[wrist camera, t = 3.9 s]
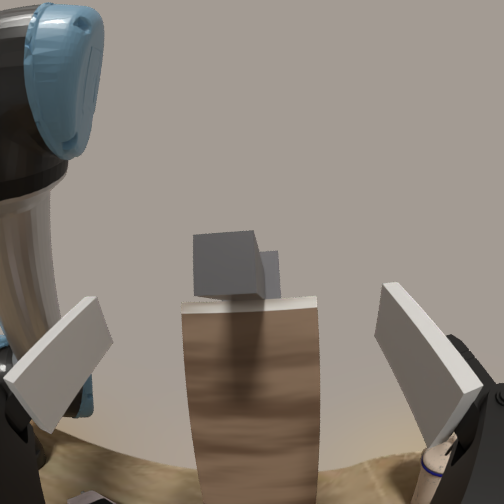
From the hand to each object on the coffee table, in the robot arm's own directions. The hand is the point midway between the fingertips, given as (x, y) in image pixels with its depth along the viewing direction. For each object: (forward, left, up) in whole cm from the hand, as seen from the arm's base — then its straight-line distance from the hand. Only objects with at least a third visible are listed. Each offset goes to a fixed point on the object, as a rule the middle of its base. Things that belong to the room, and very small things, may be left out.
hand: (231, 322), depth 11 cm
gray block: (-6, +10, +1) cm, 12 cm away
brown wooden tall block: (-9, +15, -29) cm, 33 cm away
